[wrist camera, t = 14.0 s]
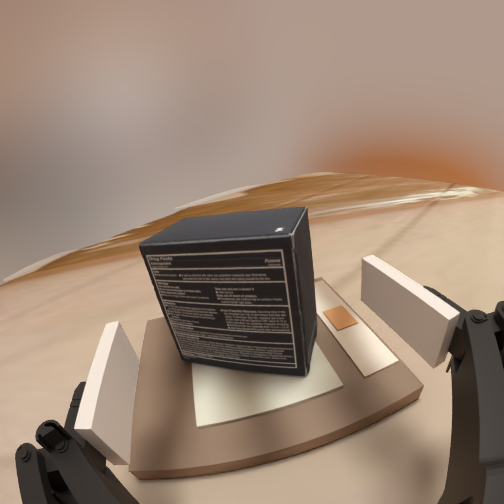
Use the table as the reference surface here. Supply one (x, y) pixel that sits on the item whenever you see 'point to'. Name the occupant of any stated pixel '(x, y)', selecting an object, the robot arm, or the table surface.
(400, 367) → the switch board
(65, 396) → the table surface
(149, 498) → the table surface
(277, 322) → the small box
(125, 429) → the robot arm
